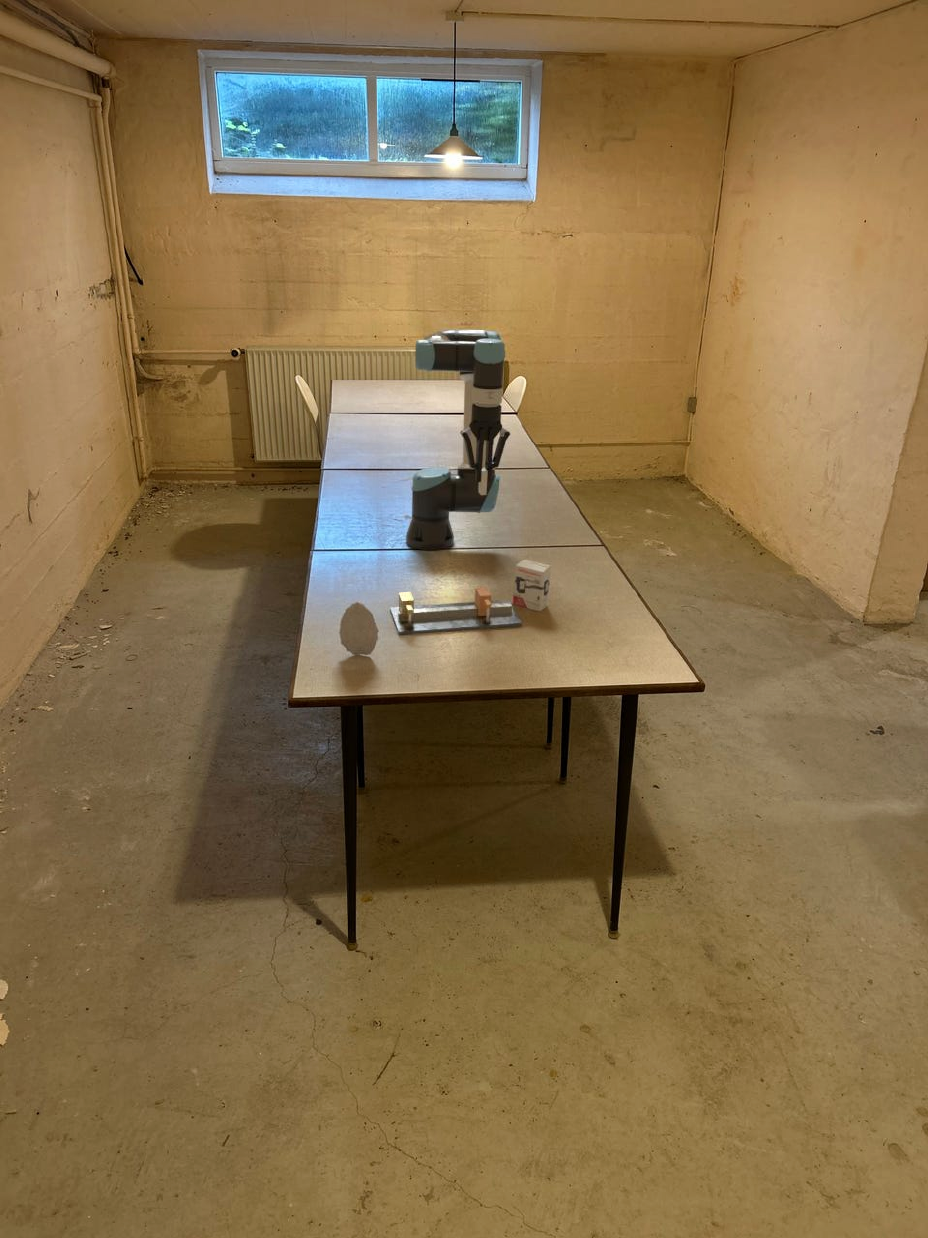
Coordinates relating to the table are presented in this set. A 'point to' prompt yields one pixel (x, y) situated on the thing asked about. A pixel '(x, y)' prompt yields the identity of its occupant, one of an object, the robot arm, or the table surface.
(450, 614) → the rail
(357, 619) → the stone tool
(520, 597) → the ink box
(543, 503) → the table surface
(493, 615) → the hole plate
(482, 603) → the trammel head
